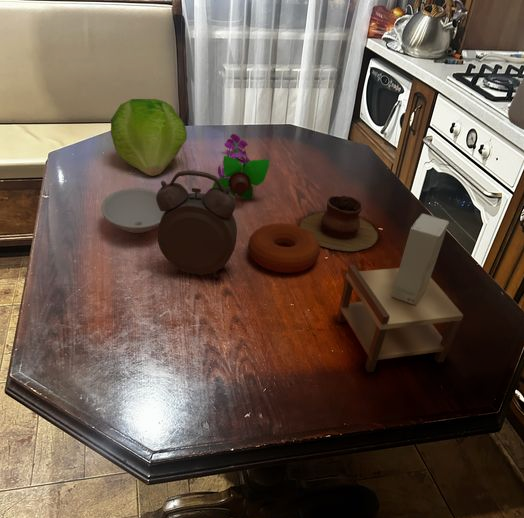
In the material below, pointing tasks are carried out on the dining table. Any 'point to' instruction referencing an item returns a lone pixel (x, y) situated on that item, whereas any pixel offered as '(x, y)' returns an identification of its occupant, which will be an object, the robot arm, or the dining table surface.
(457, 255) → the dining table surface
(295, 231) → the donut
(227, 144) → the potted plant
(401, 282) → the cosmetic box
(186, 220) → the alarm clock
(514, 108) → the robot arm
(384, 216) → the dining table surface
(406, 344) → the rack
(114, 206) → the dish
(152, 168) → the lettuce
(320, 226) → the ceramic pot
